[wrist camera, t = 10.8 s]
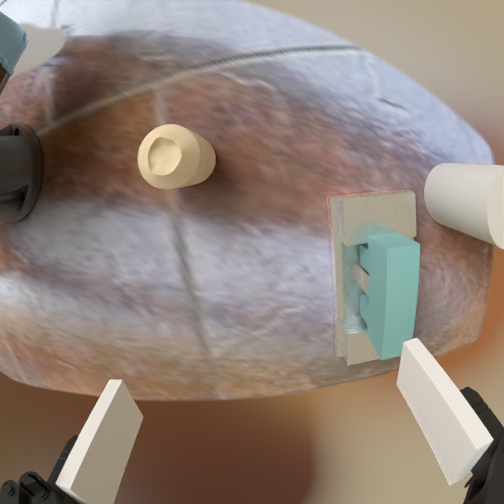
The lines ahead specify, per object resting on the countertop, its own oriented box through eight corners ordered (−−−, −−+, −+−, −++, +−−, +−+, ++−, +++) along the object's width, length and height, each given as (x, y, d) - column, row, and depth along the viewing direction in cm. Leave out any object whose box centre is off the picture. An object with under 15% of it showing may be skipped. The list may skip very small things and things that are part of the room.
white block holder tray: (325, 196, 31) (334, 199, 27) (404, 189, 30) (420, 192, 26) (334, 349, 36) (340, 366, 32) (400, 335, 35) (412, 350, 31)
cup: (435, 235, 31) (494, 264, 20) (415, 177, 30) (478, 184, 18) (475, 209, 30) (535, 227, 19) (457, 153, 28) (521, 155, 17)
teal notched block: (358, 230, 31) (387, 248, 23) (386, 226, 30) (420, 244, 23) (359, 323, 34) (381, 360, 26) (384, 318, 34) (410, 353, 26)
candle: (165, 140, 30) (127, 129, 20) (214, 132, 29) (193, 115, 20) (170, 187, 31) (134, 195, 21) (218, 181, 31) (200, 185, 21)
